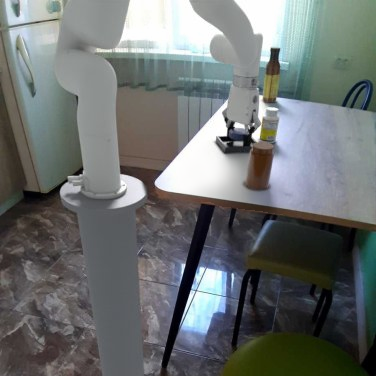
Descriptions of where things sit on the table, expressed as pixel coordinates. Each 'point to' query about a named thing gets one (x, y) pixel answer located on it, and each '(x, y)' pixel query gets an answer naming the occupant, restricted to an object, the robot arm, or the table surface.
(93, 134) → the robot arm
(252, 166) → the jam jar
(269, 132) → the supplement bottle
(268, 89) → the sauce bottle
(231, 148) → the slate tray
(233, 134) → the jar lid
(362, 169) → the table surface
